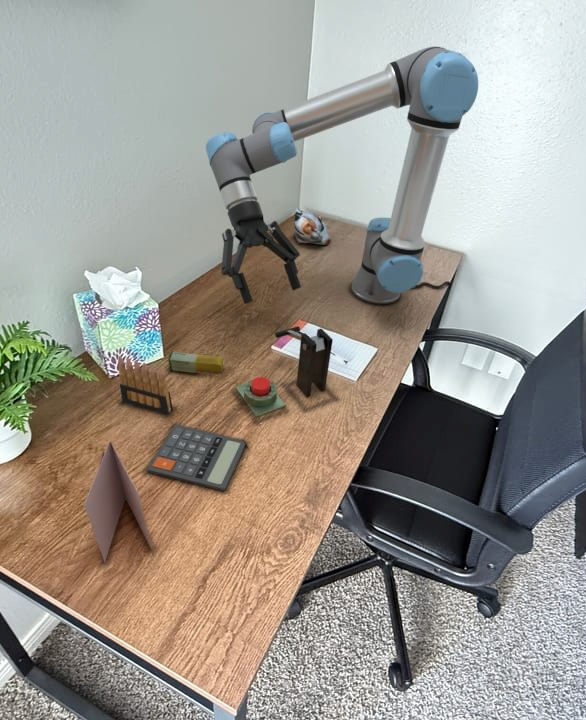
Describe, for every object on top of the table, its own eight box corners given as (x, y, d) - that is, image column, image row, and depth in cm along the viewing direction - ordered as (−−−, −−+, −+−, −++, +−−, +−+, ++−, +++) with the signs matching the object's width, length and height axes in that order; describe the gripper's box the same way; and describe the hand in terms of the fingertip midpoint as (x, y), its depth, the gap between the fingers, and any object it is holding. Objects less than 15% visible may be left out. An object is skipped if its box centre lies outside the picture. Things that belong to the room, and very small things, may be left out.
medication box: (169, 371, 106) (167, 358, 104) (173, 363, 108) (170, 350, 106) (221, 376, 107) (220, 364, 104) (224, 368, 108) (223, 355, 106)
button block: (235, 393, 103) (235, 379, 101) (263, 383, 106) (263, 370, 104) (256, 422, 97) (256, 408, 94) (285, 411, 100) (286, 397, 98)
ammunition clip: (173, 409, 97) (167, 365, 90) (168, 415, 96) (162, 371, 88) (127, 396, 99) (118, 352, 91) (122, 401, 97) (112, 357, 90)
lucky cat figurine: (337, 244, 169) (335, 218, 156) (309, 260, 167) (305, 235, 154) (314, 218, 175) (311, 191, 162) (287, 233, 173) (282, 207, 160)
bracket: (285, 386, 107) (289, 330, 97) (314, 375, 110) (321, 320, 101) (305, 410, 101) (312, 354, 91) (335, 399, 105) (345, 343, 95)
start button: (247, 387, 100) (247, 380, 98) (264, 381, 102) (264, 374, 100) (256, 398, 97) (256, 391, 96) (273, 392, 99) (273, 385, 98)
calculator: (175, 423, 93) (246, 440, 91) (175, 426, 94) (246, 443, 92) (146, 468, 84) (224, 488, 82) (146, 471, 84) (224, 491, 83)
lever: (275, 339, 106) (274, 329, 105) (298, 333, 109) (296, 323, 108) (308, 354, 95) (307, 343, 94) (332, 346, 98) (331, 335, 97)
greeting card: (120, 497, 80) (104, 439, 71) (164, 498, 81) (154, 441, 71) (98, 561, 71) (77, 505, 62) (148, 562, 72) (134, 506, 62)
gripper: (278, 206, 115) (306, 287, 117) (186, 219, 101) (219, 312, 102) (294, 193, 109) (323, 279, 111) (198, 205, 95) (233, 304, 96)
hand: (273, 295), depth 107 cm, fingers open, 13 cm apart
